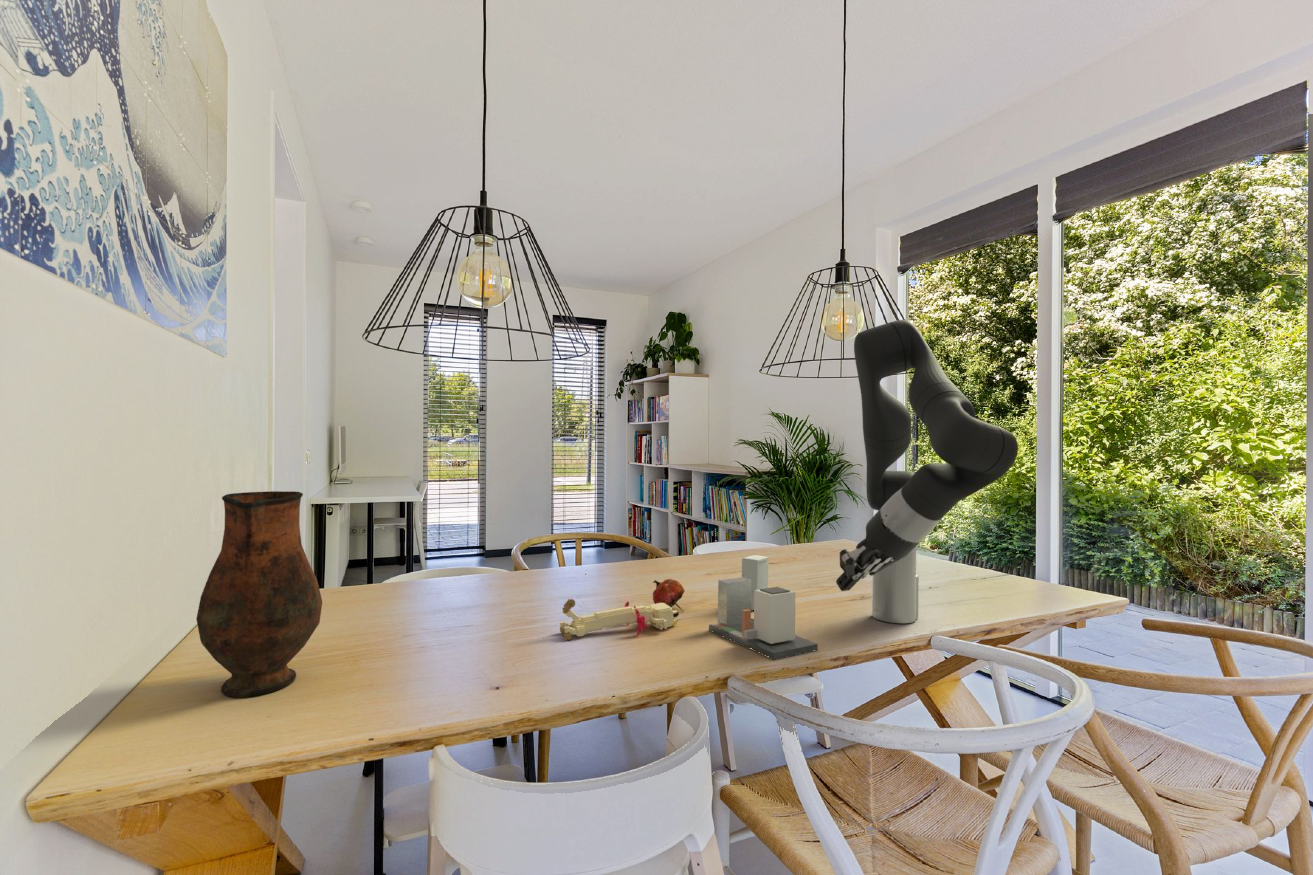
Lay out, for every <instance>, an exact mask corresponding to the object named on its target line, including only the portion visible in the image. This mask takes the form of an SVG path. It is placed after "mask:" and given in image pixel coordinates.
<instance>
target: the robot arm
mask: <svg viewBox="0 0 1313 875" xmlns="http://www.w3.org/2000/svg"><path fill="white" fill-rule="evenodd" d="M853 343H854V344H853V354H854V360H855V365H856V366H855V367H856V372H857V379H858V383H859V390H860V395H861V396H860V397H861V398H860V399H861V413H862V431H863V432H862V433H863V442H864V448H865V449H864V450H865V456H866V458H865V459H866V499H867V503H868V505H869V507H870V508H871V509H873V510H875V511H877V512H876V513H875V514H874V515H873V516H872V517H871V518H870V519H869V520H868V522H867V523H866V525H865V538H863V539H862V540H861V541H860V542H858V543H857V545H856V546H855V547H856V548H855V549H853V550H851V551H848V549H842V550H841V551H840V552H839V567H840V569H841V570H842V571H843V572H842V573H841V574H840V576H839V577H837V579H836V580H835V582H836V583H835V584H836V585H837V587H838V589H839V590H840V591H841V592H845V591H851V589H852V588H853V587H854V586H855V585H856V584H857V583H858V582H859V581H860V580H863V579H865V578H866V577H867V576H868V575H869V576H870V577H871V576H872V585H871V586H872V587H871V588H872V589H871V592H872V596H871V597H872V600H871V601H872V602H871V606H872V608H871V609H872V610H871V616H872V617H873V618H874V619H876V620H879V621H881V622H885V623H886V622H887V623H892V624H911V623H914V622H916V620H917V619H919V590H920V589H919V587H920V586H919V584H920V583H919V582H920V581H919V576H918V575H917V546H918V545H919V544H920V543H921V542H922V541H923V540H924V539H926V537H927V536H928V535H930V534H931V532H932V531H933V530H935V527H936V526H938V523H939V522H940V521H941V520H942V519H943V518H944V517H945V516H946V515H947V514H948V512H950V511H951V510H952V509H953V508H954V507H955V506H956V505H957V504H958V502H960V501H961V500H964V499H967V497H969V496H972V495H974V494H975V493H977V492H979V491H980V490H982V489H984V488H986V487H988V486H990V485H991V484H993V483H995V482H996V481H998V480H999V479H1000V478H1002V477H1003V476H1005V475H1006V473H1007V472H1008V471H1009V470H1010V469H1011V468H1012V466H1013V465H1014V463H1015V461H1016V459H1017V456H1018V452H1019V443H1018V440H1017V438H1016V437H1015V436H1014V434H1013V433H1012V432H1010V431H1009V430H1007V429H1006V428H1003V427H1001V426H998V425H995V424H991V423H989V422H986V421H983V420H981V419H979V418H976V410H975V407H974V405H973V404H972V402H971V401H970V399H969V398H968V397H967V396H966V395H965V394H964V393H963V392H962V391H961V390H960V389H959V388H958V387H957V386H956V385H955V383H953V382H952V381H951V380H950V378H949V376H947V375H946V373H945V371H944V370H943V368H942V366H941V365H940V363H939V361H938V359H937V357H936V356H935V354H934V352H933V351H932V349H931V348H930V346H929V345H928V343H927V342H926V340H925V338H924V336H923V334H922V333H921V332H920V331H919V329H918V328H917V326H915V325H914V323H912V322H911V321H910V320H907V319H898V320H894V321H890V322H887V323H883V324H881V325H877V326H874V327H871V328H867V329H865V330H863V331H860V332H858V334H856V336H855V339H854V341H853ZM912 369H914V372H913V376H912V378H911V380H910V384H909V388H908V400H909V404H910V407H911V408H912V410H913V412H914V413H915V415H916V416H917V418H918V419H919V420H920V421H921V422H922V424H923V425H924V426H925V428H927V432H928V436H929V440H930V444H931V447H932V449H933V452H934V453H935V454H936V455H937V457H939V459H940V460H942V461H943V462H945V463H939V462H937V463H935V462H934V463H933V462H932V463H931V462H930V463H925V464H924V465H922V466H920V468H918V469H917V471H915V472H913V471H907V470H902V471H901V470H888V469H889V468H890V467H891V465H893V464H894V463H895V462H896V461H897V460H899V458H901V457H902V456H903V455H904V454H905V452H906V451H907V450H908V448H909V446H910V444H911V442H912V418H911V417H912V416H911V413H910V412H909V409H908V408H907V407H906V405H904V403H903V402H902V401H900V400H899V399H898V398H897V397H895V396H894V395H893V394H892V393H890V392H889V391H888V390H886V389H885V388H884V387H883V385H881V381H882V379H885V378H887V377H890V376H894V375H897V374H901V373H904V372H907V371H910V370H912Z"/></svg>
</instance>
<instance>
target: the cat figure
mask: <svg viewBox="0 0 1313 875" xmlns="http://www.w3.org/2000/svg"><path fill="white" fill-rule="evenodd" d="M624 603H625V605H624V606H623V607H618V608H612V609H606V610H605V609H604V610H600V611H595V612H594V613H593V614H587V615H580V616H579V615H577V614H576V613H575V612H574V611H573V610H571V609H572V608H574V607H575V606H576V600H575V599H573V598H568V599H567V600H566V602H564V604H563V607H562V613H563V614H564V615H565V616H566V617H568V618H571V619H572V621H571V622H570V623H569V622H568V621H565V620H563V621H560V622H559V625H560V627H559V632H560V635H561V636H563V637H564V640H565V639H566V640H565V641H571V639H572V636H573V635H574V636H576V637H583V636H585V635H588V634H589V633H591V632H597V631H602V630H603V629H605V628H611V627H615V626H621V625H626V626H627V625H629V626H630V625H635V624H636V625H637V626H636V627H637V630H636V632H637V636H639V635H640V634H641V633H642V631H643V630H644V629H647V627H648V624H647V623H649V624H651V625H652V626H653V627H654V628H656V629H657V630H658V629H659V630H660V631H662V630H667V629H668V628H670V627H672V626H675V625H677V624H678V622H679V621H681V617H679V612H678V611H677V610H676V609H674V608H673V607H670V606H668V605H667V604H665V603H657V604H655V603H653V604H652V603H651V604H649V605H646V606H645V605H644V604H641V605H637V606H630V602H629V600H628V601H627V602H624Z"/></svg>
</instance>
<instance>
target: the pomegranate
mask: <svg viewBox="0 0 1313 875" xmlns="http://www.w3.org/2000/svg"><path fill="white" fill-rule="evenodd" d="M652 583H655V585H656V588H655V589H654V590H653V591H652V602H653V604H657V603H665V604H667V605H668V606H670V607H671V608H673V607H674V606H676V607H677V608H679V610H680V611H681V612H682V613H684V610H683V608H682V607H681V606H680V605H678V603H677V602H679V600H680V599H682V597H683V594H684V593H685V589H684V587H683V585H682V583H681V582H679V580H675V579H672V578H668V579H664V580H663V581H662V582H660V581H657V580H654V581H652Z"/></svg>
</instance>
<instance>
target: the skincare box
mask: <svg viewBox="0 0 1313 875" xmlns="http://www.w3.org/2000/svg"><path fill="white" fill-rule="evenodd" d="M769 558H770V557H769V556H764V555H757V554H756V555H755V554H753V555H750V556H749V555H748V556H746V557H742V559H741V577H743V578H746V579H750V580H751V611H753V610H754V590H759V589H765V588H769V567H770V566H769V564H770V563H769V562H770V560H769Z"/></svg>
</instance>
